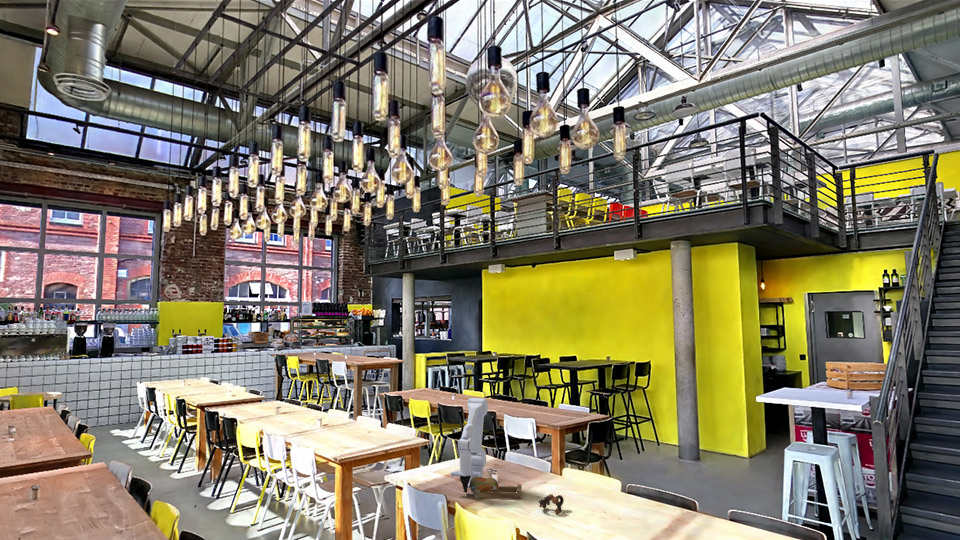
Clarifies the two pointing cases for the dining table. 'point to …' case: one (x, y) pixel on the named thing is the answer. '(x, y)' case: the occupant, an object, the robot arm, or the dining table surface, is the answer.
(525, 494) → the dining table surface
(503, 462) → the dining table surface
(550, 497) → the brown figurine
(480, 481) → the tin
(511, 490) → the walnut rails
